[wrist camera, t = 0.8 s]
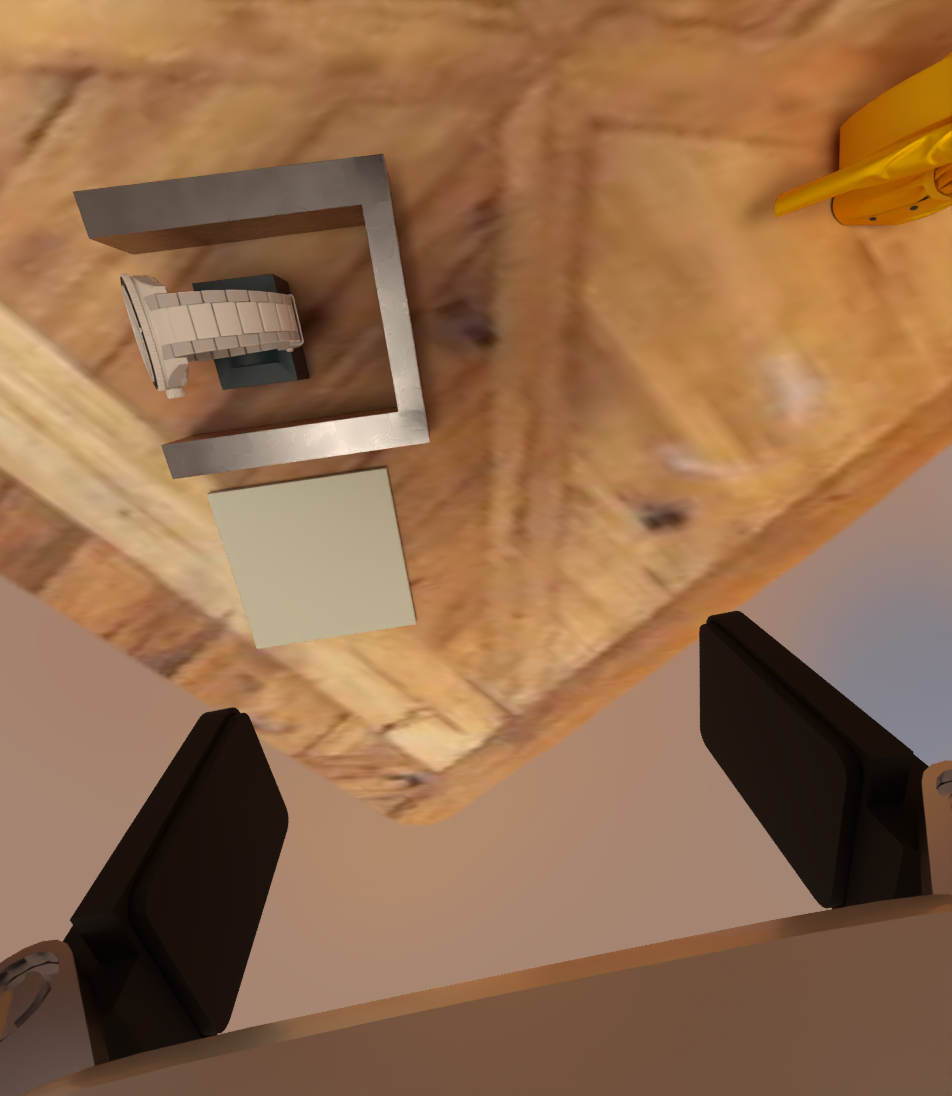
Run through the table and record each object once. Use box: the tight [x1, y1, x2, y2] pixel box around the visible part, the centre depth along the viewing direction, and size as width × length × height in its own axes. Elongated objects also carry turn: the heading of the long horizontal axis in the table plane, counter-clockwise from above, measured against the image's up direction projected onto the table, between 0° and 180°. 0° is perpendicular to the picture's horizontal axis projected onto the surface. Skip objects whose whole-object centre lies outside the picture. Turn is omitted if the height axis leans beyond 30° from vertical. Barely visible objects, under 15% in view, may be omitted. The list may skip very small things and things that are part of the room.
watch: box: [120, 274, 309, 399], centre depth 26 cm, size 6×8×11 cm
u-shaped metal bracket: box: [73, 154, 430, 479], centre depth 29 cm, size 14×15×4 cm
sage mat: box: [207, 467, 416, 649], centre depth 36 cm, size 12×12×1 cm
